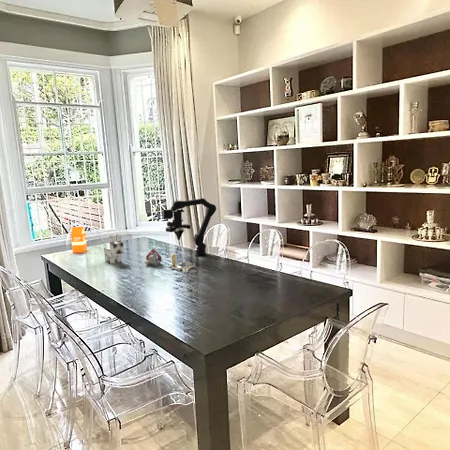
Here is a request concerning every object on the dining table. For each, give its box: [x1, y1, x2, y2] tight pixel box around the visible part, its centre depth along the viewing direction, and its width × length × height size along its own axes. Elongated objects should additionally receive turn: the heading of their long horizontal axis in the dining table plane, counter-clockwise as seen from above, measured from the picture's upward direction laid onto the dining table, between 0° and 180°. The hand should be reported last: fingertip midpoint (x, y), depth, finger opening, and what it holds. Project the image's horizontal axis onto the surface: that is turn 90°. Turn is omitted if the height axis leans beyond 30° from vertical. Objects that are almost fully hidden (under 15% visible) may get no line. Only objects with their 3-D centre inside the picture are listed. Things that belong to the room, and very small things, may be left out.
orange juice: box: [70, 226, 88, 254], centre depth 313 cm, size 8×9×20 cm
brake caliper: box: [143, 248, 162, 267], centre depth 264 cm, size 11×11×12 cm
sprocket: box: [168, 253, 196, 271], centre depth 257 cm, size 18×18×9 cm
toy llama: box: [103, 233, 125, 265], centre depth 275 cm, size 8×18×20 cm, turn 42°
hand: (178, 239), depth 280 cm, fingers closed
